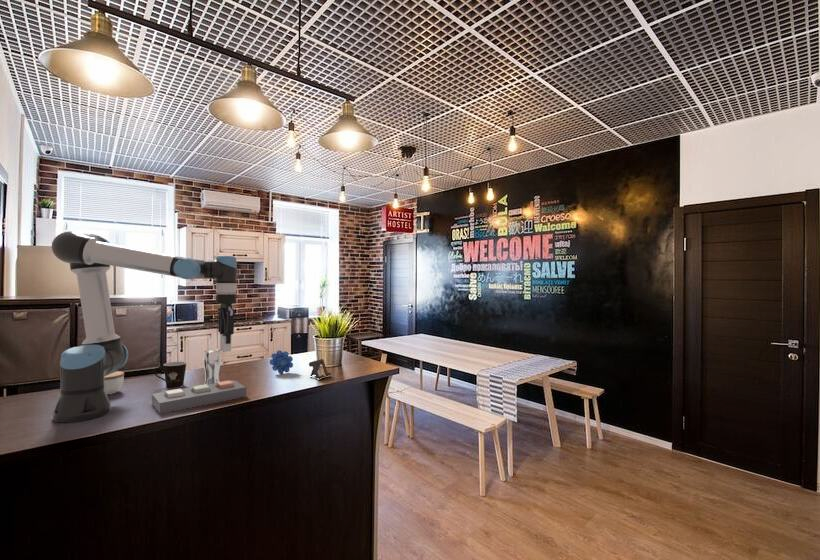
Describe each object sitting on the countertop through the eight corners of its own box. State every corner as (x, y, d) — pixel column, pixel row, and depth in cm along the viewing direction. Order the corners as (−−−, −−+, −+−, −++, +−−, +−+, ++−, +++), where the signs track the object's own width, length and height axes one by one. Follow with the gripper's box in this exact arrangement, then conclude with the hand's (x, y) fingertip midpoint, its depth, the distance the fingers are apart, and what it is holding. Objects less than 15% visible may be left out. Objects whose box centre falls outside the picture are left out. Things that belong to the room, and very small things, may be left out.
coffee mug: (190, 383, 172) (190, 361, 172) (177, 389, 163) (177, 366, 163) (166, 382, 173) (166, 360, 173) (152, 388, 165) (152, 365, 165)
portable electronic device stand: (319, 381, 180) (319, 363, 180) (306, 379, 184) (306, 361, 184) (331, 377, 188) (331, 360, 188) (318, 375, 192) (318, 358, 191)
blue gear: (271, 377, 186) (271, 352, 186) (268, 373, 192) (268, 350, 192) (295, 374, 192) (295, 350, 192) (291, 371, 198) (292, 348, 198)
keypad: (159, 414, 134) (159, 403, 134) (151, 404, 144) (151, 393, 144) (246, 396, 155) (246, 387, 155) (234, 389, 165) (234, 380, 165)
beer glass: (222, 383, 173) (223, 351, 173) (206, 386, 168) (206, 353, 168) (217, 380, 178) (217, 348, 178) (200, 383, 173) (201, 350, 172)
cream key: (168, 401, 140) (168, 394, 140) (165, 398, 143) (165, 391, 143) (183, 398, 143) (183, 391, 143) (180, 395, 147) (180, 388, 147)
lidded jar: (130, 390, 161) (130, 368, 161) (103, 398, 151) (104, 374, 151) (111, 388, 164) (111, 366, 164) (83, 395, 153) (84, 372, 153)
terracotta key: (220, 392, 152) (220, 385, 152) (216, 389, 156) (216, 382, 156) (233, 389, 156) (233, 382, 156) (229, 387, 159) (229, 380, 159)
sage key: (195, 396, 146) (195, 389, 146) (191, 393, 150) (192, 386, 150) (209, 394, 150) (209, 387, 150) (205, 391, 153) (205, 384, 153)
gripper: (243, 294, 152) (242, 352, 152) (228, 292, 164) (228, 346, 164) (223, 294, 147) (222, 355, 147) (210, 292, 159) (209, 348, 159)
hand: (225, 350), depth 156 cm, fingers open, 3 cm apart
